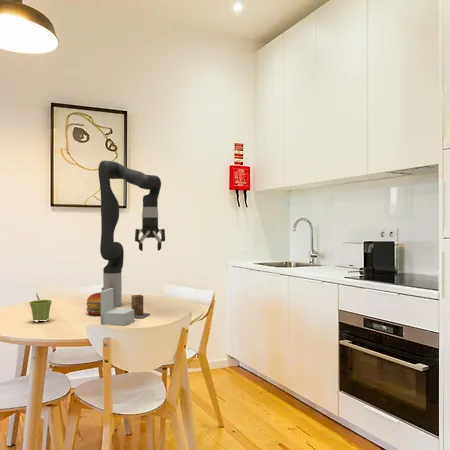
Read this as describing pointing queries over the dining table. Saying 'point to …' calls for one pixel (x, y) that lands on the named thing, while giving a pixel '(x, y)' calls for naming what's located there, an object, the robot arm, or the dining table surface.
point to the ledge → (114, 310)
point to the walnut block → (137, 304)
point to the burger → (94, 304)
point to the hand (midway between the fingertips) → (150, 250)
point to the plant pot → (40, 309)
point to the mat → (142, 316)
